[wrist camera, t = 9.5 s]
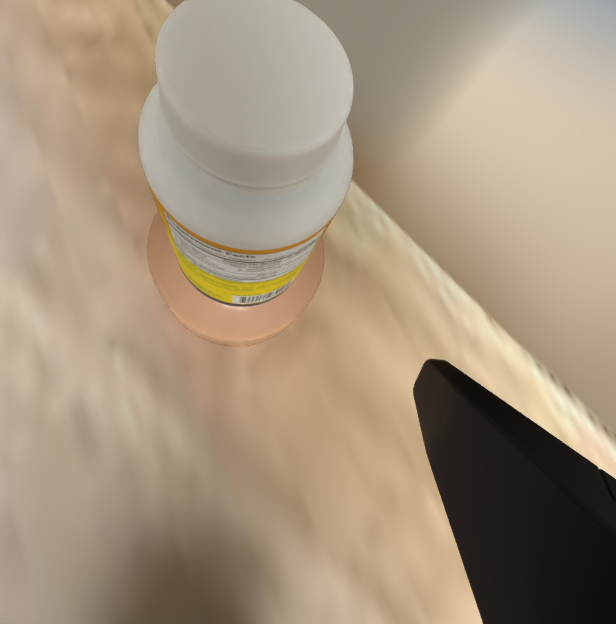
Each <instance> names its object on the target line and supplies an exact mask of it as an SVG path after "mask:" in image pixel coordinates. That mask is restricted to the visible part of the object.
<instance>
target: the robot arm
mask: <svg viewBox="0 0 616 624" xmlns="http://www.w3.org/2000/svg"><path fill="white" fill-rule="evenodd" d="M413 395H414V400H415V404H416V409H417V413H418V418H419V422H420V427H421V431H422V436H423V440H424V445H425V449H426V453H427V456H428V459H429V463H430V466H431V469H432V472H433V475H434V478H435V481H436V484H437V487H438V490H439V493H440V496H441V499H442V502H443V505H444V508H445V511H446V514H447V517H448V520H449V523H450V526H451V529H452V532H453V535H454V538H455V541H456V544H457V547H458V550H459V553H460V556H461V559H462V562H463V565H464V568H465V571H466V574H467V577H468V580H469V583H470V586H471V589H472V592H473V595H474V598H475V601H476V604H477V607H478V610H479V613H480V616H481V619H482V622H483V624H616V479H615V478H613V477H612V476H611V475H609V474H608V473H606V472H605V471H603V470H602V469H598V467H597V466H596V465H595V464H593V463H592V462H590V461H589V460H588V459H586V458H585V457H583V456H582V455H580V454H579V453H577V452H576V451H575V450H573V449H572V448H570V447H569V446H567V445H566V444H565V443H563V442H562V441H560V440H559V439H557V438H556V437H555V436H553V435H552V434H550V433H549V432H547V431H546V430H545V429H543V428H542V427H540V426H539V425H537V424H536V423H534V422H533V421H532V420H530V419H529V418H527V417H526V416H524V415H523V414H522V413H520V412H519V411H517V410H516V409H514V408H513V407H512V406H510V405H509V404H507V403H506V402H504V401H503V400H502V399H500V398H499V397H497V396H496V395H494V394H493V393H492V392H490V391H489V390H487V389H486V388H484V387H483V386H481V385H480V384H479V383H477V382H476V381H474V380H473V379H471V378H470V377H469V376H467V375H466V374H464V373H463V372H461V371H460V370H459V369H457V368H456V367H454V366H453V365H451V364H450V363H449V362H447V361H445V360H439V359H428V360H426V361H425V363H424V365H423V367H422V369H421V371H420V373H419V375H418V377H417V379H416V382H415V384H414V388H413Z"/></svg>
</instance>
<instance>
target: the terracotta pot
mask: <svg viewBox="0 0 616 624" xmlns="http://www.w3.org/2000/svg"><path fill="white" fill-rule="evenodd" d="M147 252H148V262H149V267H150V271H151V274H152V277H153V280H154V282H155V284H156V286H157V288H158V290H159V292H160V293H161V295H162V296H163V298H164V300H165V301H166V303H167V304H168V306H169V307H170V309H171V310H172V312H173V313H174V315H175V316H176V317H177V319H178V320H179V321H180V322H181V323H182V324H183V325H184V326H185V327H186V328H187V329H188V330H190V331H191V332H192V333H194V334H195V335H197V336H199V337H200V338H203V339H205V340H207V341H209V342H213V343H216V344H220V345H226V346H247V345H253V344H257V343H260V342H263V341H265V340H268V339H270V338H271V337H273V336H275V335H277V334H278V333H279V332H281V331H282V330H283V329H285V328H286V327H287V326H288V325H289V324H290V323H291V322H292V321H293V320H294V318H295V317H296V316H297V315H298V314H299V313H300V312H301V311H302V310H303V309H304V308H305V307H306V305H307V304H308V303H309V302H310V300H311V299H312V297H313V295H314V294H315V292H316V290H317V288H318V285H319V283H320V280H321V276H322V273H323V266H324V248H323V241H322V237H321V238H320V240H319V241H318V243H317V245H316V246H315V248H314V250H313V251H312V253H311V254H310V256H309V258H308V259H307V261H306V262H305V264H304V265H303V267H302V269H301V270H300V272H299V273H298V275H297V277H296V278H295V280H294V281H293V283H292V284H291V285H290V286H289V287H288V288H287V289H286V290H285V291H284V292H283V293H282V294H281V295H279V296H278V297H276V298H275V299H273V300H271V301H269V302H267V303H264V304H261V305H258V306H253V307H232V306H227V305H223V304H220V303H217V302H215V301H213V300H211V299H209V298H207V297H206V296H204V295H203V294H201V293H200V292H199V291H198V290H196V289H195V288H194V287H193V286H192V284H191V283H190V282H189V281H188V279H187V278H186V277H185V275H184V273H183V272H182V270H181V268H180V266H179V263H178V260H177V258H176V255H175V252H174V250H173V247H172V245H171V242H170V239H169V237H168V234H167V231H166V229H165V226H164V223H163V221H162V218H161V216H160V214H159V210H158V212H157V214H156V215H155V218H154V220H153V222H152V225H151V228H150V232H149V236H148V246H147Z"/></svg>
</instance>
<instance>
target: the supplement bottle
mask: <svg viewBox="0 0 616 624" xmlns="http://www.w3.org/2000/svg"><path fill="white" fill-rule="evenodd" d="M155 68H156V74H157V81H158V82H157V83H156V84H155V86H154V87H153V89H152V90H151V92H150V94H149V95H148V97H147V99H146V101H145V104H144V106H143V109H142V112H141V116H140V121H139V130H138V145H139V153H140V158H141V162H142V166H143V169H144V173H145V176H146V178H147V181H148V184H149V186H150V189H151V191H152V194H153V197H154V199H155V202H156V205H157V208H158V210H159V214H160V216H161V218H162V221H163V223H164V226H165V229H166V231H167V234H168V237H169V239H170V242H171V245H172V247H173V250H174V252H175V255H176V258H177V260H178V263H179V266H180V268H181V270H182V272H183V273H184V275H185V277H186V278H187V279H188V281H189V282H190V283H191V284H192V286H193V287H194V288H195V289H196V290H198V291H199V292H200V293H201V294H203V295H204V296H206V297H207V298H209V299H211V300H213V301H215V302H217V303H220V304H223V305H227V306H232V307H253V306H258V305H261V304H264V303H267V302H269V301H271V300H273V299H275V298H276V297H278V296H279V295H281V294H282V293H283V292H284V291H285V290H286V289H287V288H288V287H289V286H290V285H291V284H292V283H293V281H294V280H295V278H296V277H297V275H298V273H299V272H300V270H301V269H302V267H303V265H304V264H305V262H306V261H307V259H308V258H309V256H310V254H311V253H312V251H313V250H314V248H315V246H316V245H317V243H318V241H319V240H320V238H321V237H322V235H323V234H324V232H325V230H326V229H327V227H328V226H329V224H330V222H331V221H332V219H333V217H334V216H335V214H336V212H337V210H338V209H339V207H340V205H341V203H342V202H343V200H344V198H345V196H346V193H347V191H348V188H349V185H350V182H351V177H352V172H353V162H354V158H353V156H354V155H353V145H352V139H351V135H350V131H349V128H348V125H347V122H346V120H347V117H348V115H349V112H350V109H351V105H352V101H353V91H354V87H353V86H354V84H353V74H352V70H351V66H350V63H349V60H348V57H347V55H346V53H345V51H344V49H343V47H342V45H341V43H340V42H339V40H338V39H337V37H336V36H335V35H334V33H333V32H332V31H331V30H330V28H329V27H328V26H327V25H326V24H325V23H324V22H323V21H322V20H321V19H320V18H318V17H317V16H316V15H315V14H314V13H313V12H311V11H310V10H308V9H307V8H306V7H304V6H303V5H301V4H300V3H297V2H295V1H294V0H185V1H184V2H182V3H181V4H180V5H178V6H177V7H176V8H175V9H174V10H173V11H172V12H171V13H170V14H169V15H168V17H167V18H166V20H165V22H164V23H163V25H162V27H161V30H160V32H159V34H158V38H157V42H156V49H155Z"/></svg>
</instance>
